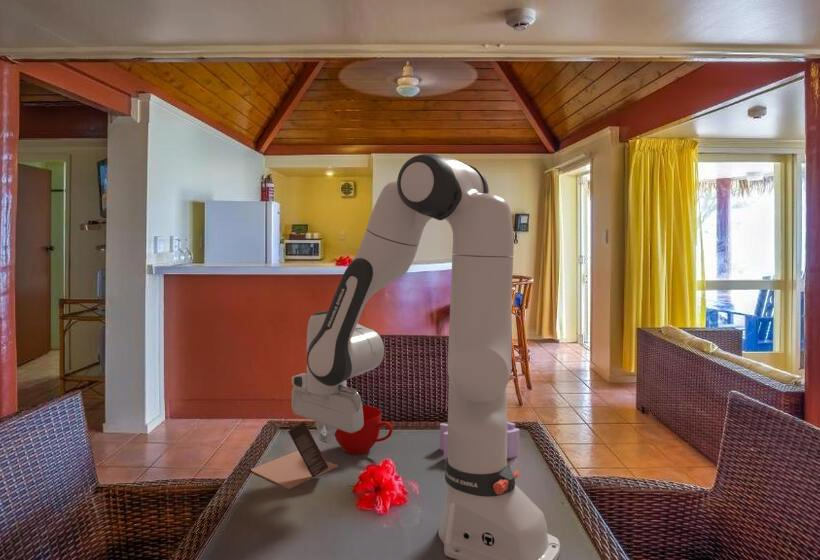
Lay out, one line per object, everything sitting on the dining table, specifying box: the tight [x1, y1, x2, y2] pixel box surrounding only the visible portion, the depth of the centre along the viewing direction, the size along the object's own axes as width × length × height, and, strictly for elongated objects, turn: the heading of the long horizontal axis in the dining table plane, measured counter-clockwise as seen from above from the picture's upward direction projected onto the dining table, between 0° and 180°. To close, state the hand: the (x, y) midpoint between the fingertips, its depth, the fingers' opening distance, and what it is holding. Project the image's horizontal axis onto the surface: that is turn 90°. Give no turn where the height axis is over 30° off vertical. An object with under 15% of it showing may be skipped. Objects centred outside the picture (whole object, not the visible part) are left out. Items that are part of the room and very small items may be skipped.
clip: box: [439, 421, 520, 461], centre depth 139 cm, size 20×12×7 cm, turn 95°
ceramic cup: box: [334, 404, 394, 455], centre depth 139 cm, size 13×17×10 cm
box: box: [287, 421, 329, 478], centre depth 123 cm, size 6×4×12 cm
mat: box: [250, 450, 339, 490], centre depth 129 cm, size 15×15×1 cm
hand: (326, 441), depth 120 cm, fingers closed
